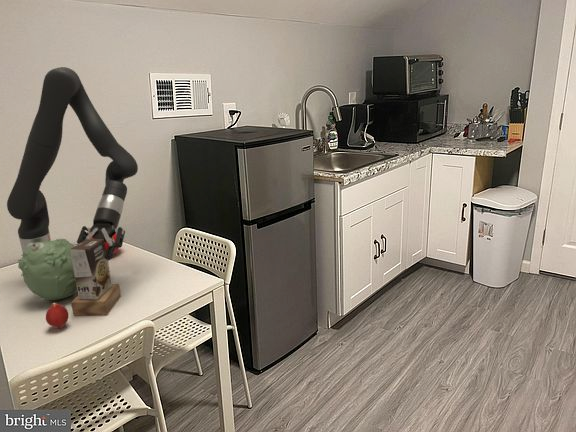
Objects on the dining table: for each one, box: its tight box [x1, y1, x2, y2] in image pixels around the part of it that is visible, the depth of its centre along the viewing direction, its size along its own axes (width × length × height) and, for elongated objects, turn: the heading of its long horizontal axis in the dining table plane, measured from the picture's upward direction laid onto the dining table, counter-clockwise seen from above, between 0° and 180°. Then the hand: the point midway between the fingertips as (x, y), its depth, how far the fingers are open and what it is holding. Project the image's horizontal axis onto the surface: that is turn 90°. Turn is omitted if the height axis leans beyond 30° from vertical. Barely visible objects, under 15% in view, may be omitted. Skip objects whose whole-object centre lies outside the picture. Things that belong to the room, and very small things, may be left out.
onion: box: [45, 302, 69, 329], centre depth 132 cm, size 6×6×8 cm
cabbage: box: [17, 238, 78, 301], centre depth 149 cm, size 16×19×20 cm
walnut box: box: [70, 282, 122, 318], centre depth 144 cm, size 10×12×5 cm
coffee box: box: [70, 239, 113, 300], centre depth 141 cm, size 9×6×16 cm
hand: (94, 258), depth 143 cm, fingers open, 8 cm apart
